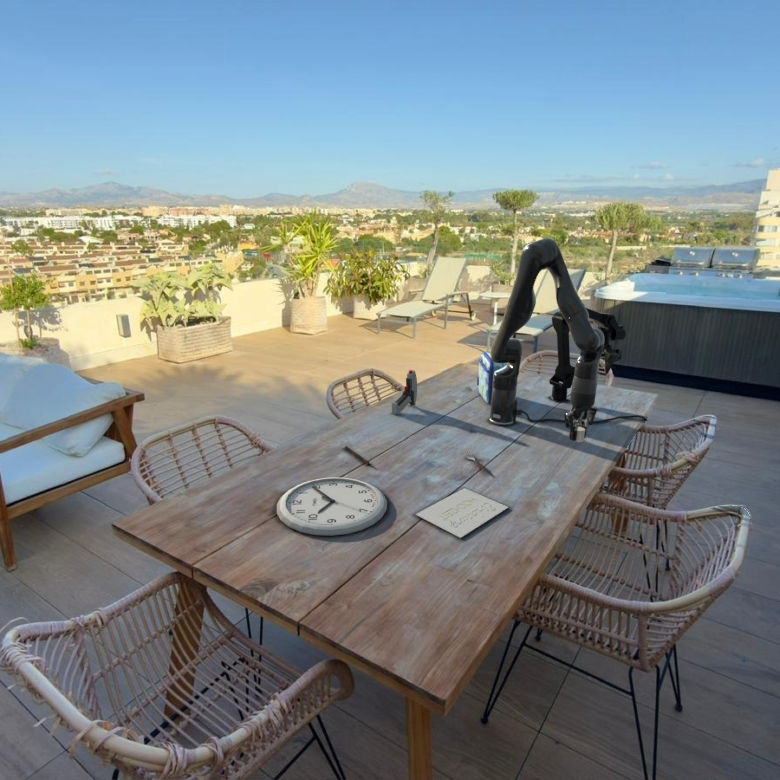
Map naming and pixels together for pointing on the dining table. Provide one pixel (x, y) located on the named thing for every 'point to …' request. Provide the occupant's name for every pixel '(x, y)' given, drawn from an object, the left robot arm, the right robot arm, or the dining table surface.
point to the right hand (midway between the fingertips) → (598, 374)
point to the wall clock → (331, 506)
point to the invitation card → (461, 512)
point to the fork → (474, 459)
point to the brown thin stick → (357, 455)
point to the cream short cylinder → (580, 434)
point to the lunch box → (487, 375)
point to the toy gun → (407, 394)
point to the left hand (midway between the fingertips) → (577, 438)
